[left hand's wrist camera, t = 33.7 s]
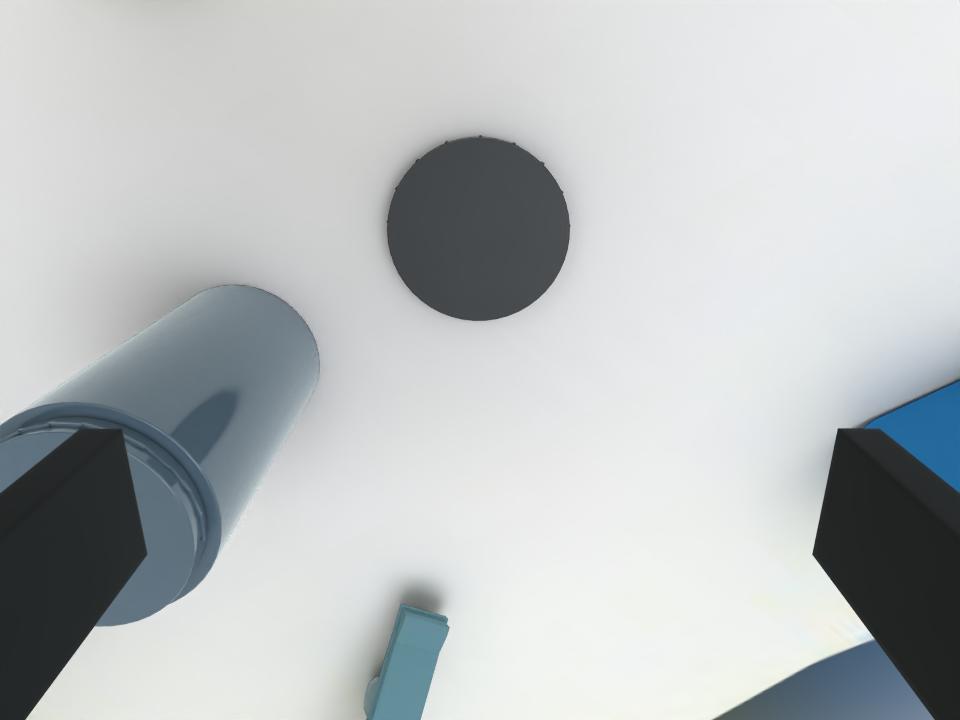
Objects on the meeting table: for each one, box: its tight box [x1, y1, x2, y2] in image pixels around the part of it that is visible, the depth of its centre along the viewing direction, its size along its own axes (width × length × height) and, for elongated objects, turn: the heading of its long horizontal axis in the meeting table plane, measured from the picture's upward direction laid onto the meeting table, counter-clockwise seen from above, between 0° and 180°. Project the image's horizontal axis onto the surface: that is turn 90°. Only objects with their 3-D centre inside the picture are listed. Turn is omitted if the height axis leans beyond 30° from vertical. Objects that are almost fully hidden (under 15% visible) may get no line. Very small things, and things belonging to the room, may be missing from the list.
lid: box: [387, 135, 570, 321], centre depth 40 cm, size 11×11×2 cm
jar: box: [0, 285, 319, 626], centre depth 35 cm, size 10×10×19 cm
